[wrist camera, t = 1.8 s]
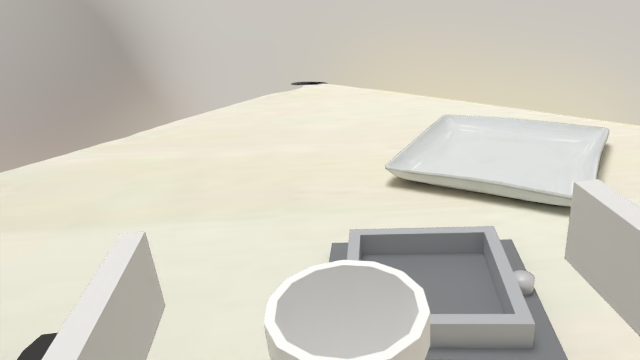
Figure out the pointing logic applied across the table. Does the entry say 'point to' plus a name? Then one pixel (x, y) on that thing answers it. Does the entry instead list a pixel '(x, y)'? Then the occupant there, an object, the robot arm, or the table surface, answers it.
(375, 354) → the foam cup
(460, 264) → the tray
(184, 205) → the table surface
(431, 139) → the square plate
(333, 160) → the table surface
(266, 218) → the table surface
